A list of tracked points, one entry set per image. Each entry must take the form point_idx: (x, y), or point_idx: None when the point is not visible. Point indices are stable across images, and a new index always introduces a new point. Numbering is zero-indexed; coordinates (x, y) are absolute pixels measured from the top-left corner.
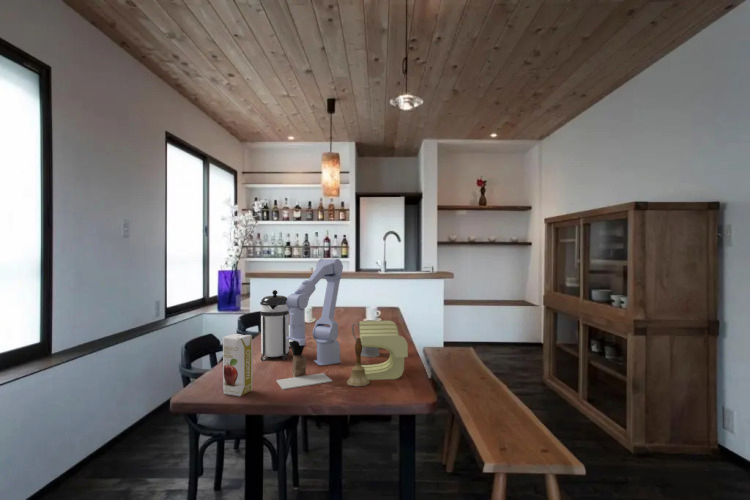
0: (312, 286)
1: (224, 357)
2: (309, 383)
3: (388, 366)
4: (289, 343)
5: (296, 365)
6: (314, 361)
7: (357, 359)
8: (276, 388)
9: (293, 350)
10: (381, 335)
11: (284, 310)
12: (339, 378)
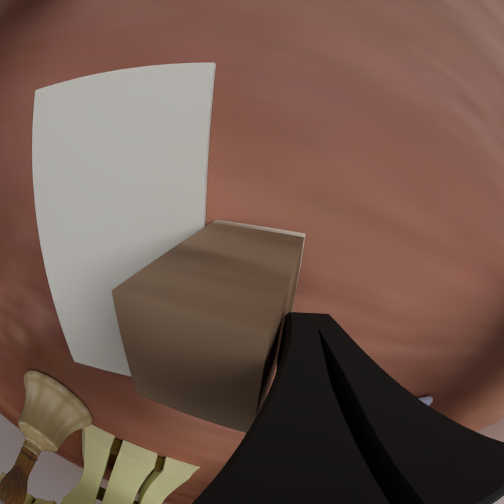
0: None
1: None
2: (51, 257)
3: (108, 483)
4: (499, 472)
5: (152, 271)
6: (421, 398)
7: (18, 457)
8: (75, 54)
9: (280, 418)
10: None
11: None
12: (112, 395)
